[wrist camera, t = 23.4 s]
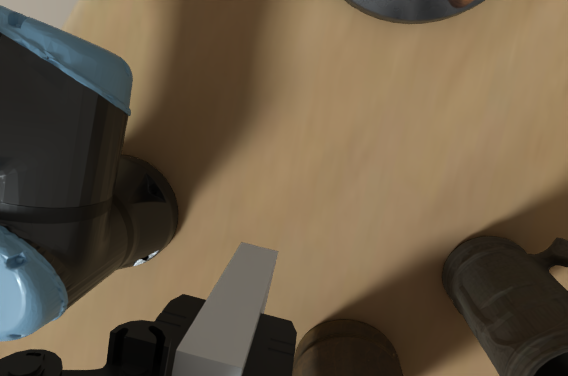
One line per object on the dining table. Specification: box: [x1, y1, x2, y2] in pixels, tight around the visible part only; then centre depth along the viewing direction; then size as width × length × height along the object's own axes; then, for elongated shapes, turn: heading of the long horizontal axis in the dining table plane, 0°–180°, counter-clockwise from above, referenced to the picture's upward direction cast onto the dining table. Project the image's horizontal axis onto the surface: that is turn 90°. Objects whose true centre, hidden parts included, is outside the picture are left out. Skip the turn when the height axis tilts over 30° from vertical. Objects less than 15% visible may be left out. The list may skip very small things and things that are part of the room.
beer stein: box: [442, 236, 568, 376], centre depth 36 cm, size 15×11×20 cm
